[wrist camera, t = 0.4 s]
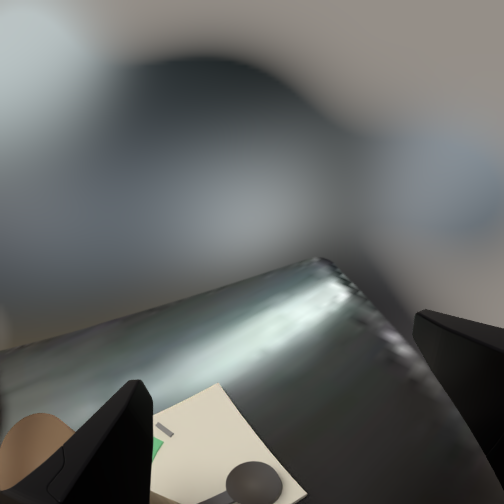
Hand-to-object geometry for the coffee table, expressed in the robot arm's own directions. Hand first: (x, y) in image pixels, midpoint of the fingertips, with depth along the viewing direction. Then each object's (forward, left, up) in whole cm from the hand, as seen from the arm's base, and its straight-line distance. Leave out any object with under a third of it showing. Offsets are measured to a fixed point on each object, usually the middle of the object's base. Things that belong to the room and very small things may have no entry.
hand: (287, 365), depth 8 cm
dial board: (+1, +10, -16) cm, 18 cm away
